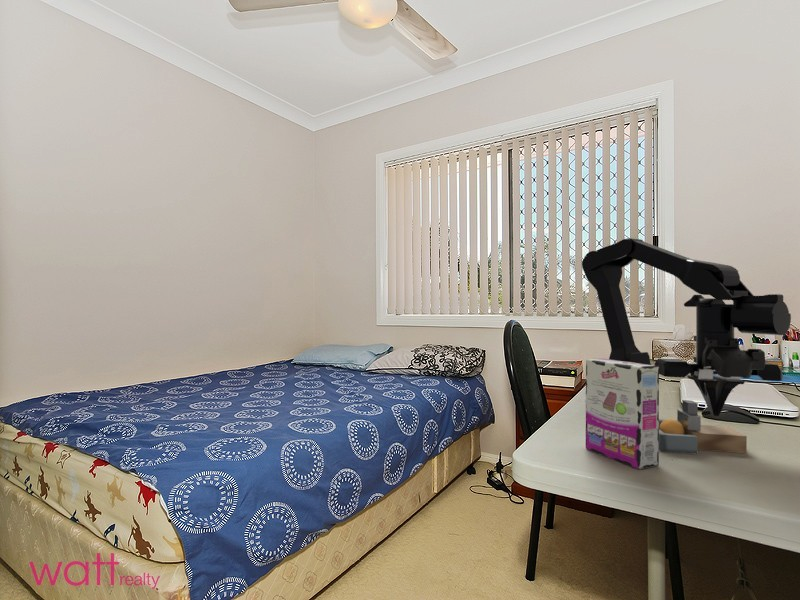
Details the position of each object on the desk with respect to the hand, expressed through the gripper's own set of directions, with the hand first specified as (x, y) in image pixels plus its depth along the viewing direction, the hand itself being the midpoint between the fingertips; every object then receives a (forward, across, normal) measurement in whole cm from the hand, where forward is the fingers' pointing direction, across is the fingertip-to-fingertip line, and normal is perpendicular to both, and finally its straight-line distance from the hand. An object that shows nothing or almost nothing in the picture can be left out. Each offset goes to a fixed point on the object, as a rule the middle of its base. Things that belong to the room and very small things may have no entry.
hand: (715, 415), depth 80 cm
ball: (+3, -7, 0) cm, 8 cm away
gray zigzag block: (+2, -4, 0) cm, 5 cm away
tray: (+6, -8, 0) cm, 10 cm away
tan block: (+6, -1, 0) cm, 6 cm away
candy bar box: (+6, -19, -10) cm, 22 cm away
